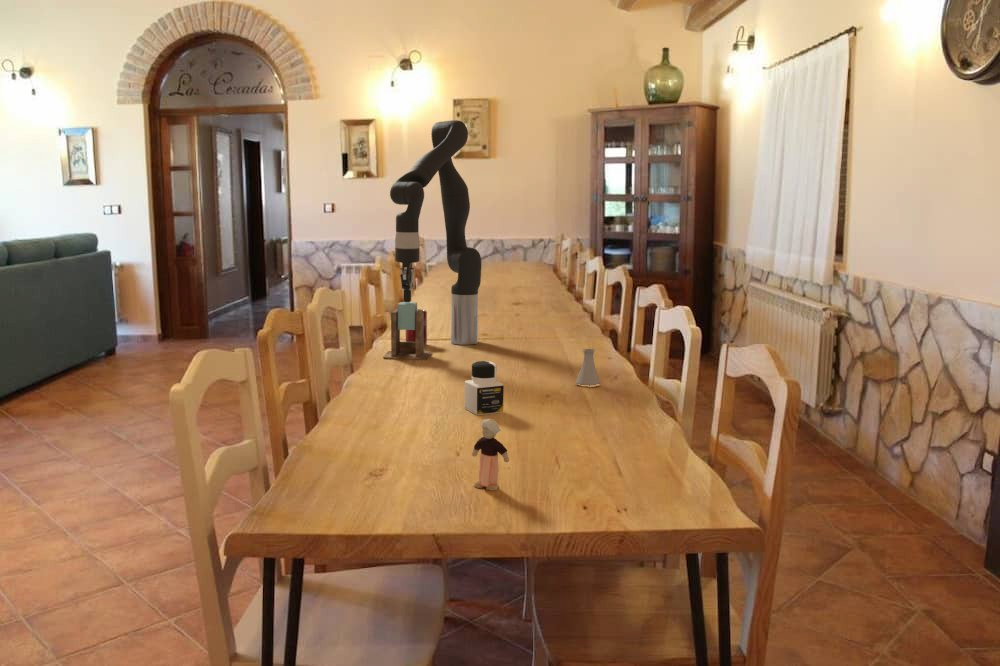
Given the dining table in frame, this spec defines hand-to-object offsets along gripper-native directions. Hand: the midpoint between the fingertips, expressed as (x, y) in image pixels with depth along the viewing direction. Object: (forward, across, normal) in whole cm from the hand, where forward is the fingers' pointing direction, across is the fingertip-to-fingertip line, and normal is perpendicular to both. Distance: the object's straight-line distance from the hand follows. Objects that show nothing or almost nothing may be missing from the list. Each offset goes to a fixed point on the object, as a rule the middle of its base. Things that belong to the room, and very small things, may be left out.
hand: (407, 301), depth 266 cm
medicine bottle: (+18, -65, -28) cm, 73 cm away
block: (+8, 0, 0) cm, 9 cm away
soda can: (+18, +20, 0) cm, 27 cm away
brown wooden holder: (+18, 0, 0) cm, 18 cm away
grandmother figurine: (+18, -118, -32) cm, 124 cm away
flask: (+18, -35, -55) cm, 68 cm away
